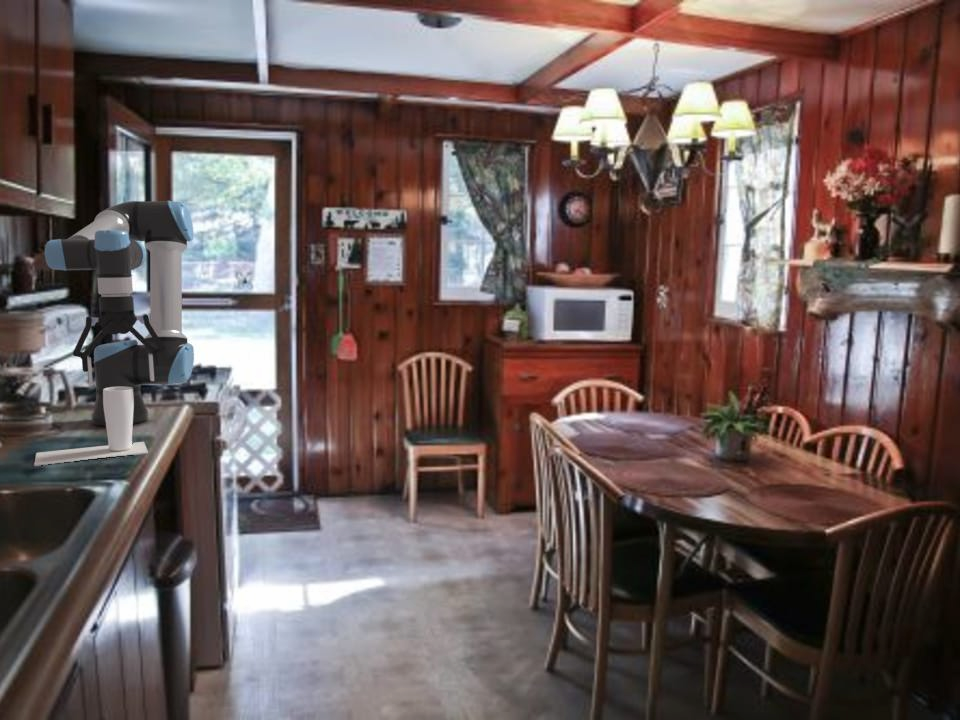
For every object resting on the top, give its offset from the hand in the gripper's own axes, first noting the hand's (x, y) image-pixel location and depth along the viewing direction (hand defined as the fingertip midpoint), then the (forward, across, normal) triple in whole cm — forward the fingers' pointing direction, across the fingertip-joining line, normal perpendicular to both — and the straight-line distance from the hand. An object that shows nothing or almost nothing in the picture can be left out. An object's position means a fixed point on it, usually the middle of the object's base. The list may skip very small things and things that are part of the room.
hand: (122, 382), depth 191 cm
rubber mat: (+17, +8, 0) cm, 18 cm away
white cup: (+16, +1, 0) cm, 17 cm away
